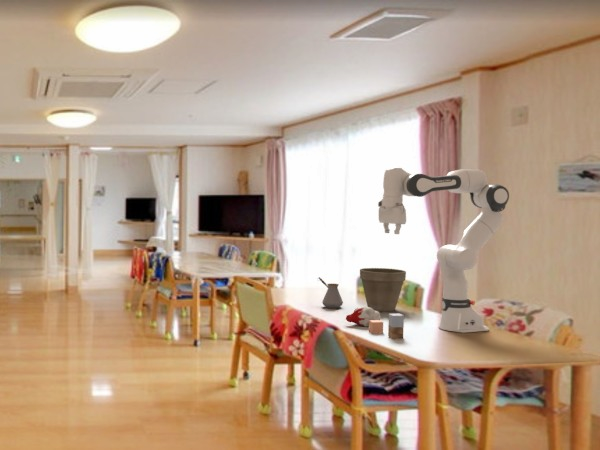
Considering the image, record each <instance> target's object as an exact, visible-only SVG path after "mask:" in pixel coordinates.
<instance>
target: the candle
mask: <svg viewBox="0 0 600 450" xmlns="http://www.w3.org/2000/svg"><path fill="white" fill-rule="evenodd" d="M345 320H346V321H347V322H349V323H354V324H355V325H357V326H360V327H361V326H362V327H369V320H381V311H374V310H373V309H372V308H370V307H368V306H363V307H362V306H361V307H357V308H354V311H353V312H352V313H351V314H347V315H346V317H345Z"/></svg>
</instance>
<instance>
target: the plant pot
mask: <svg viewBox="0 0 600 450" xmlns="http://www.w3.org/2000/svg"><path fill="white" fill-rule="evenodd" d="M406 276H407V272H406V270H403V269H397V268H386V267H385V268H383V267H380V268H379V267H367V268H366V267H365V268H360V269H359V278H360V279H361V283H362V288H363V291H364V296H365V297H364V298H365V301H366V305H367V306H366V307H370V308H372V309H373V310H374V311H378V312H393V311H396V307H397V304H398V301H399V298H400V294H401V291H402V288H403V284H404V282H405V281H406V278H407V277H406Z"/></svg>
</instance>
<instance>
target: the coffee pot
mask: <svg viewBox="0 0 600 450" xmlns="http://www.w3.org/2000/svg"><path fill="white" fill-rule="evenodd" d="M317 281H320V282H321V283H322V284H323V285H324V286H325V287H326V288H327V290H326V291H325V294H324V297H323V299H322V302H321V303H322V305H323V306H324V307H325V308H326V309H340V307H341V306H343V304H344V302H343V299H342V297H341V296H342V295H341V293H340V291H339V289H338V287H339V283H326V282H325V281H324V280H323V279H322V278H321V277H318V278H317Z"/></svg>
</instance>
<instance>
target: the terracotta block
mask: <svg viewBox="0 0 600 450" xmlns="http://www.w3.org/2000/svg"><path fill="white" fill-rule="evenodd" d="M368 332H370V333H371V334H383V333H384V321H382V320H381V319H380V320H369V326H368Z"/></svg>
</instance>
